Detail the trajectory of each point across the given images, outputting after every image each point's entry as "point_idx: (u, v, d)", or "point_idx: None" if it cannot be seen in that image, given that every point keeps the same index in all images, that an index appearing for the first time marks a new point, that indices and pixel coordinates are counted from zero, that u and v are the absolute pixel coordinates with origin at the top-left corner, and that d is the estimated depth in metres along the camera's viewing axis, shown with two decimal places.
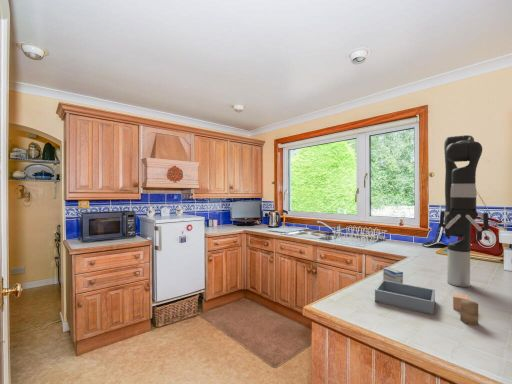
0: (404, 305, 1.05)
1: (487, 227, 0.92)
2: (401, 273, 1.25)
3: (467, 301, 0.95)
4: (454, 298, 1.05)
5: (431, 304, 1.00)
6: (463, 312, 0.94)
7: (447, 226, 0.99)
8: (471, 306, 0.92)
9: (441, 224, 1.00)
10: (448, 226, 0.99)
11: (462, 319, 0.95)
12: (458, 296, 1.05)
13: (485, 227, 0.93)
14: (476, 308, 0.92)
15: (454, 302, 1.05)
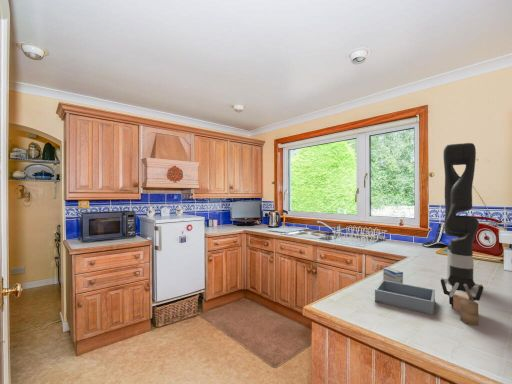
0: (404, 305, 1.05)
1: (478, 298, 1.01)
2: (401, 273, 1.25)
3: (467, 301, 0.95)
4: (454, 298, 1.05)
5: (431, 304, 1.00)
6: (463, 312, 0.94)
7: (451, 294, 1.06)
8: (471, 306, 0.92)
9: (445, 292, 1.07)
10: (452, 294, 1.06)
11: (462, 319, 0.95)
12: (458, 296, 1.05)
13: (476, 298, 1.02)
14: (476, 308, 0.92)
15: (454, 302, 1.05)
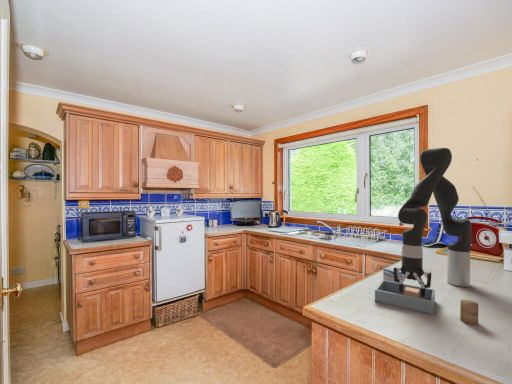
0: (404, 305, 1.05)
1: (429, 286, 1.06)
2: (401, 273, 1.25)
3: (467, 301, 0.95)
4: (405, 291, 1.10)
5: (431, 304, 1.00)
6: (463, 312, 0.94)
7: (400, 282, 1.12)
8: (471, 306, 0.92)
9: (395, 279, 1.13)
10: (401, 282, 1.12)
11: (462, 319, 0.95)
12: (409, 289, 1.10)
13: (427, 285, 1.06)
14: (476, 308, 0.92)
15: None
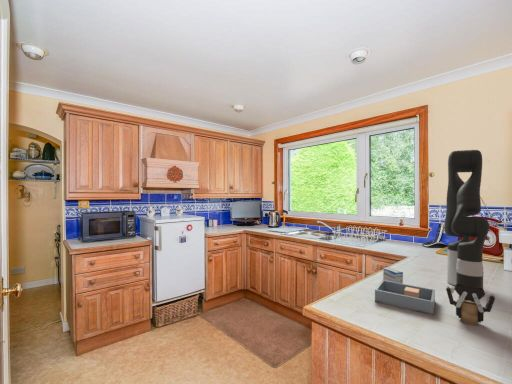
0: (404, 305, 1.05)
1: (489, 310, 0.90)
2: (401, 273, 1.25)
3: (467, 301, 0.95)
4: (405, 291, 1.10)
5: (431, 304, 1.00)
6: (463, 312, 0.94)
7: (458, 305, 0.95)
8: (471, 306, 0.92)
9: (451, 302, 0.97)
10: (459, 305, 0.95)
11: (462, 319, 0.95)
12: (409, 289, 1.10)
13: (487, 309, 0.91)
14: (476, 308, 0.92)
15: None
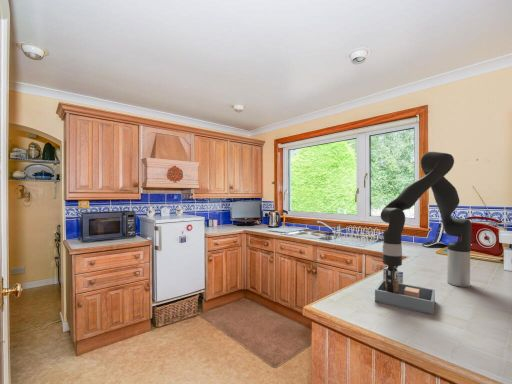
0: (404, 305, 1.05)
1: None
2: (401, 273, 1.25)
3: None
4: (405, 291, 1.10)
5: (431, 304, 1.00)
6: None
7: None
8: None
9: None
10: None
11: None
12: (409, 289, 1.10)
13: None
14: None
15: None
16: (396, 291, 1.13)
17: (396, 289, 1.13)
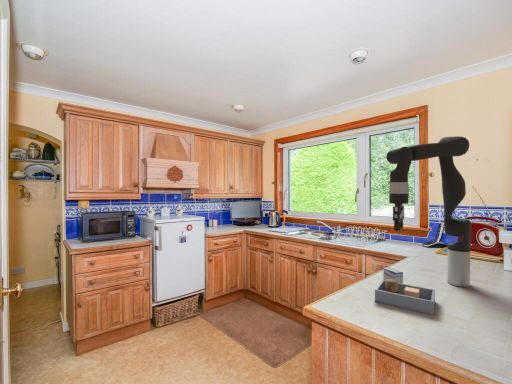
0: (404, 305, 1.05)
1: None
2: (401, 273, 1.25)
3: (393, 280, 1.15)
4: (405, 291, 1.10)
5: (431, 304, 1.00)
6: None
7: None
8: (385, 281, 1.16)
9: None
10: None
11: None
12: (409, 289, 1.10)
13: None
14: (387, 284, 1.14)
15: None
16: (396, 291, 1.13)
17: (396, 289, 1.13)
